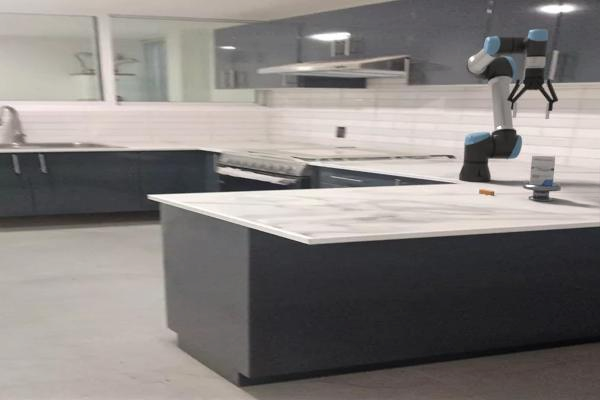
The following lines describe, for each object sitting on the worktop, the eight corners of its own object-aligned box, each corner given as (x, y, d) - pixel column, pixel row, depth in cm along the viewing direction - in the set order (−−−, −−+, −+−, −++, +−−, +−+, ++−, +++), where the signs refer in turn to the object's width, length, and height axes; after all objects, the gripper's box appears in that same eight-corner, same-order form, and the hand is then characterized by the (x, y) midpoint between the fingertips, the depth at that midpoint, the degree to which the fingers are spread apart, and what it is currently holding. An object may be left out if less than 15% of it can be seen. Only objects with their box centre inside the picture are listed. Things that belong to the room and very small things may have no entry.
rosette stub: (517, 199, 216) (518, 182, 215) (527, 194, 227) (529, 178, 225) (554, 204, 207) (556, 186, 206) (563, 198, 218) (565, 181, 217)
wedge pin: (478, 194, 230) (479, 189, 229) (482, 193, 231) (483, 189, 230) (490, 196, 225) (490, 191, 224) (494, 196, 226) (494, 191, 225)
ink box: (552, 184, 216) (555, 155, 214) (552, 186, 212) (555, 156, 210) (530, 183, 220) (532, 154, 218) (529, 184, 216) (531, 155, 213)
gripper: (502, 67, 231) (498, 117, 236) (564, 66, 216) (559, 119, 220) (508, 68, 237) (504, 116, 241) (569, 67, 221) (563, 119, 226)
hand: (530, 118), depth 231 cm, fingers open, 13 cm apart
